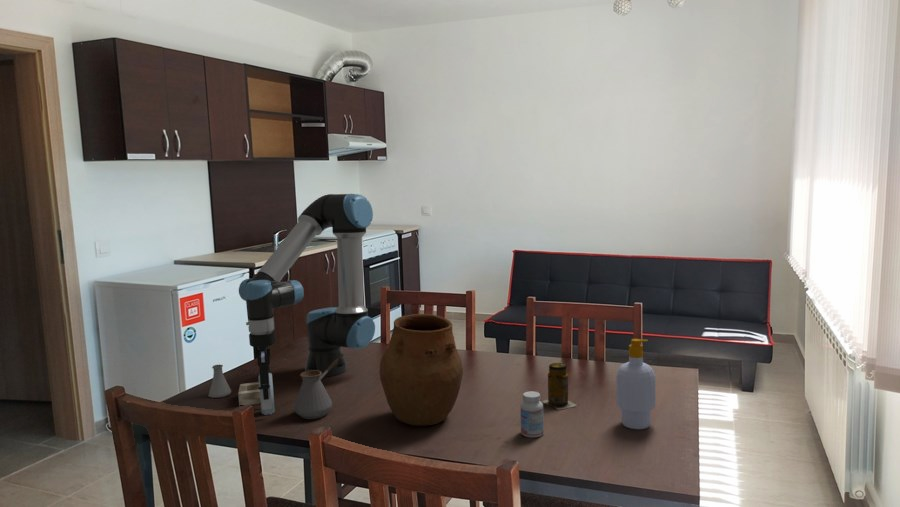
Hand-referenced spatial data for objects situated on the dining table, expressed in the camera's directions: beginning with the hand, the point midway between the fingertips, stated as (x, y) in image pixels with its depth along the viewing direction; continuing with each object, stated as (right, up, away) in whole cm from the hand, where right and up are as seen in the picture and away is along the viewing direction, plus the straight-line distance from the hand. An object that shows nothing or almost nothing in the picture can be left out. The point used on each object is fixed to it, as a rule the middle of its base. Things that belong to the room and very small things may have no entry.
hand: (267, 403), depth 198 cm
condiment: (+89, 0, -2) cm, 89 cm away
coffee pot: (+17, -2, +2) cm, 18 cm away
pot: (+48, -3, -10) cm, 49 cm away
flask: (-21, -1, +19) cm, 28 cm away
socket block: (-7, -1, +13) cm, 15 cm away
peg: (0, -3, 0) cm, 3 cm away
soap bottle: (+107, -1, -20) cm, 109 cm away
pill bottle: (+78, -3, -23) cm, 82 cm away
